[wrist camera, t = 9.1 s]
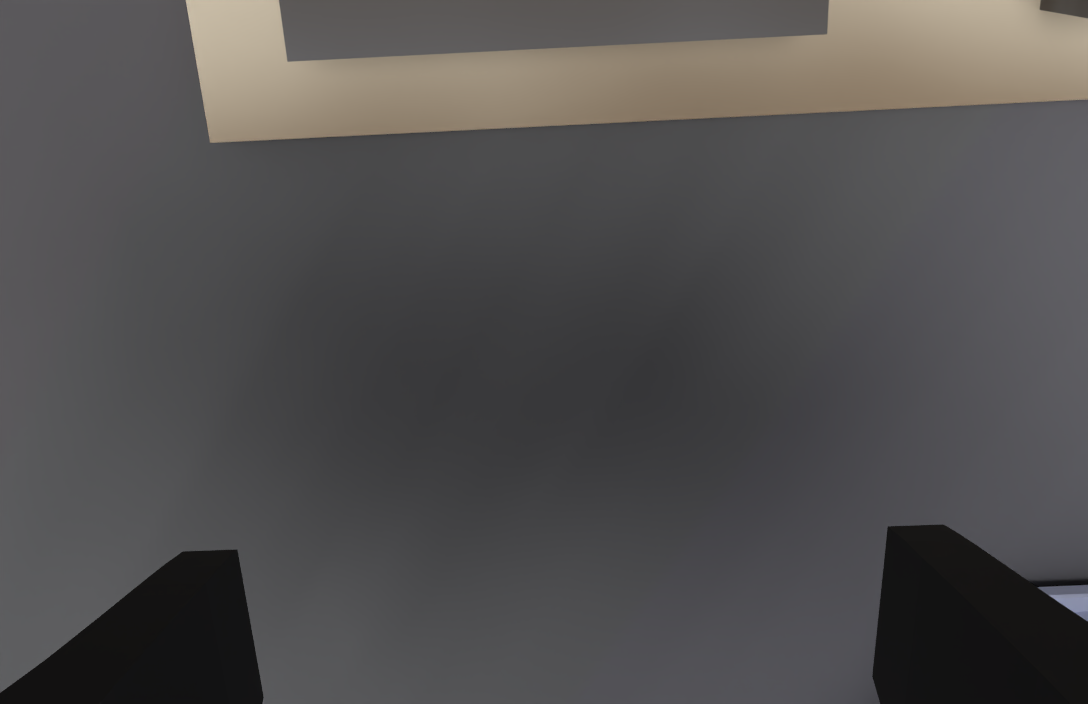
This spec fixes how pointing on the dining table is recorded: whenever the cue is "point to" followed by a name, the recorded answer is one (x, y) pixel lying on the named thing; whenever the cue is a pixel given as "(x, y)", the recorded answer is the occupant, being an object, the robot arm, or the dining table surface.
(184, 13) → the dining table surface
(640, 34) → the rail
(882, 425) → the dining table surface
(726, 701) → the dining table surface
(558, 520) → the dining table surface
